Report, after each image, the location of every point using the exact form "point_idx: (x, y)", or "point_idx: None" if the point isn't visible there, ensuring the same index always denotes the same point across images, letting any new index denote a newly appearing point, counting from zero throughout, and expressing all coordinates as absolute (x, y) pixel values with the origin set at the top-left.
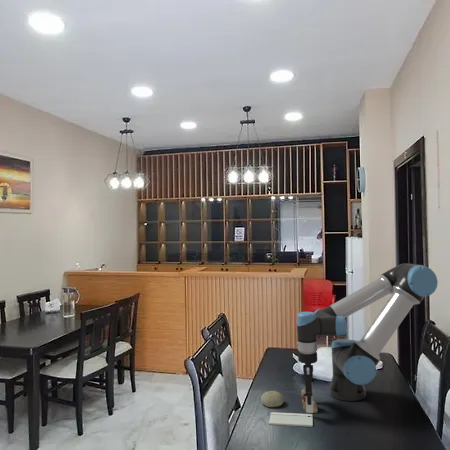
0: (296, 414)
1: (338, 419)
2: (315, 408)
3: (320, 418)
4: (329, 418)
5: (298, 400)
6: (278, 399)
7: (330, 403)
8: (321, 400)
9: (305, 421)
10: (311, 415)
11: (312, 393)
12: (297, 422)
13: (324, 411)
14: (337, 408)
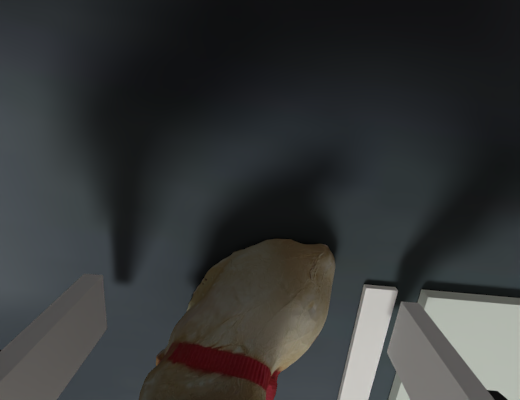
0: (359, 388)
1: (480, 71)
2: (327, 276)
3: (431, 231)
4: (444, 156)
5: (92, 353)
6: None
7: (105, 97)
8: (49, 178)
9: (501, 349)
10: (387, 296)
11: (68, 314)
12: (505, 396)
13: (295, 181)
14: (223, 38)
